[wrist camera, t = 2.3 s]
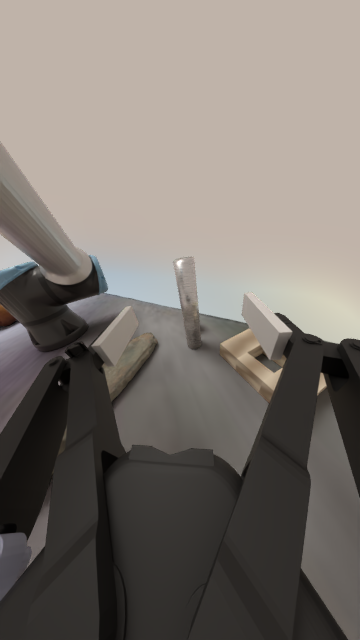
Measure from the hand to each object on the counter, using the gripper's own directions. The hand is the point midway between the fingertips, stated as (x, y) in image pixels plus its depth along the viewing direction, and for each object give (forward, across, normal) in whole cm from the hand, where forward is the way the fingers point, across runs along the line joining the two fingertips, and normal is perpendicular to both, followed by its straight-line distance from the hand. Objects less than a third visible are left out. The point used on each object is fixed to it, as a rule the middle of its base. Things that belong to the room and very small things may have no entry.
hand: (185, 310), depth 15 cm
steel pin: (+10, 0, -16) cm, 19 cm away
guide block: (+3, +13, -16) cm, 21 cm away
